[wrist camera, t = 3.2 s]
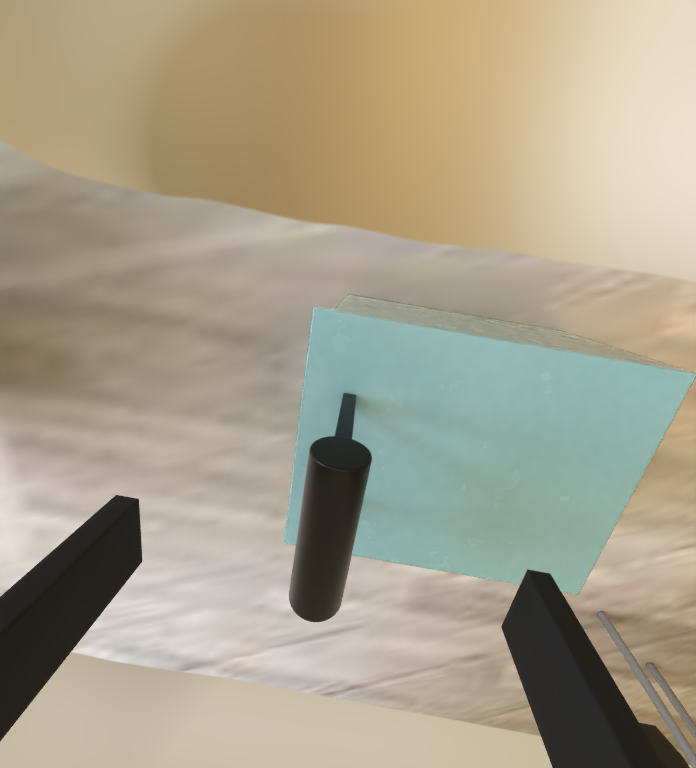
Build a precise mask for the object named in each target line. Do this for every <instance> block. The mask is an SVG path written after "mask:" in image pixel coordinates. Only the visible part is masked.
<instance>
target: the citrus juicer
mask: <svg viewBox="0 0 696 768" xmlns="http://www.w3.org/2000/svg"><path fill="white" fill-rule="evenodd" d="M598 617H599V618H600V620H601V621H602V623H603V625H604V626H605V628H606V629H607V631H608V632H609V634H610V635H611V637H612V639H613V640H614V642H615V643H616V645H617V646H618V648H619V650H620V651H621V653H622V654H623V656H624V657H625V659H626V661H627V662H628V664H629V665H630V667H631V669H632V670H633V672H634V673H635V675H636V677H637V678H638V680H639V681H640V683H641V685H642V686H643V688H644V689H645V691H646V693H647V694H648V696H649V697H650V699H651V701H652V702H653V704H654V705H655V707H656V708H657V710H658V712H659V713H660V715H661V717H662V718H663V720H664V721H665V723H666V725H667V726H668V728H669V730H670V731H671V733H672V734H673V736H674V738H675V739H676V741H677V742H678V744H679V746H680V747H681V749H682V751H683V752H684V754H685V756H686V757H687V759H688V760H689V762H690V764H691V765H692V767H693V768H696V754H695V752H694V751H693V749H692V748H691V746H690V744H689V743H688V741H687V740H686V738H685V736H684V735H683V733H682V732H681V730H680V728H679V727H678V725H677V724H676V722H675V721H674V719H673V717H672V716H671V714H670V713H669V711H668V709H667V708H666V706H665V705H664V703H663V702H662V700H661V698H660V697H659V695H658V694H657V692H656V691H655V689H654V687H653V686H652V684H651V683H650V681H649V680H648V678H647V677H646V675H645V673H644V672H643V670H642V669H641V667H640V666H639V664H638V663H637V661H636V659H635V658H634V656H633V655H632V653H631V652H630V650H629V649H628V647H627V646H626V644H625V643H624V641H623V639H622V638H621V636H620V635H619V633H618V632H617V630H616V629H615V627H614V626H613V624H612V623H611V621H610V620H609V619H608V617H607V616H606V614H605V613H604V612H599V613H598ZM647 668H648V669H649V670H650V672H651V673H652V675H653V676H654V678H655V679H656V681H657V682H658V683H659V685H660V686H661V688H662V689H663V691H664V692H665V694H666V695H667V697H668V698H669V700H670V701H671V703H672V704H673V706H674V707H675V709H676V710H677V712H678V714H679V715H680V717H681V718H682V720H683V721H684V723H685V724H686V726H687V728H688V729H689V731H690V732H691V734H692V735H693V737H694V738H695V740H696V725H695V723H694V722H693V720H692V719H691V717H690V716H689V714H688V713H687V711H686V710H685V708H684V707H683V705H682V704H681V702H680V701H679V700H678V698H677V697H676V695H675V694H674V692H673V691H672V689H671V688H670V686H669V685H668V684H667V682H666V681H665V679H664V678H663V677H662V675H661V674H660V672H659V671H658V670H657V668H656V667H655V666H654V664H652V663H649V664H647Z"/></svg>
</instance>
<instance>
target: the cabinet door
mask: <svg viewBox="0 0 696 768" xmlns="http://www.w3.org/2000/svg"><path fill="white" fill-rule="evenodd" d="M695 378H696V373H694V372H691V371H687V370H684V369H679V368H673V367H667V366H661V365H656V364H650V363H644V362H638V361H632V360H627V359H621V358H615V357H609V356H603V355H598V354H592V353H586V352H580V351H575V350H569V349H563V348H557V347H551V346H546V345H540V344H534V343H528V342H522V341H517V340H511V339H505V338H499V337H493V336H488V335H482V334H476V333H470V332H464V331H459V330H453V329H447V328H441V327H435V326H430V325H424V324H418V323H412V322H406V321H401V320H395V319H389V318H383V317H377V316H372V315H366V314H360V313H354V312H348V311H343V310H337V309H331V308H325V307H320V306H315V307H314V308H313V312H312V320H311V328H310V336H309V344H308V352H307V360H306V368H305V376H304V384H303V392H302V400H301V408H300V416H299V424H298V432H297V440H296V448H295V457H294V465H293V473H292V481H291V489H290V497H289V505H288V513H287V521H286V529H285V537H284V543H286V544H292V545H296V549H295V556H294V563H293V570H292V577H291V584H290V591H289V600H290V604H291V606H292V608H293V610H294V611H295V613H296V614H297V615H298V616H300V617H301V618H303V619H304V620H307V621H310V622H322V621H325V620H328V619H329V618H331V617H332V616H333V615H335V614H336V612H337V611H338V610H339V608H340V606H341V602H342V597H343V593H344V588H345V583H346V579H347V574H348V570H349V565H350V560H351V556H352V555H354V556H360V557H365V558H371V559H377V560H382V561H388V562H394V563H400V564H405V565H411V566H417V567H422V568H428V569H434V570H439V571H445V572H451V573H456V574H462V575H468V576H473V577H479V578H485V579H490V580H496V581H502V582H507V583H513V584H519V585H521V582H522V580H523V578H524V576H525V573H526V571H527V569H528V570H534V571H539V572H545V573H550V574H551V575H552V577H553V579H554V580H555V582H556V584H557V586H558V587H559V589H560V591H561V592H564V593H570V594H575V595H578V594H579V592H580V590H581V588H582V587H583V585H584V583H585V581H586V579H587V577H588V575H589V574H590V572H591V570H592V568H593V566H594V564H595V563H596V561H597V559H598V557H599V555H600V553H601V551H602V550H603V548H604V546H605V544H606V542H607V540H608V538H609V537H610V535H611V533H612V531H613V529H614V527H615V526H616V524H617V522H618V520H619V518H620V516H621V514H622V513H623V511H624V509H625V507H626V505H627V503H628V501H629V500H630V498H631V496H632V494H633V492H634V490H635V489H636V487H637V485H638V483H639V481H640V479H641V477H642V476H643V474H644V472H645V470H646V468H647V466H648V464H649V463H650V461H651V459H652V457H653V455H654V453H655V452H656V450H657V448H658V446H659V444H660V442H661V440H662V439H663V437H664V435H665V433H666V431H667V429H668V427H669V426H670V424H671V422H672V420H673V418H674V416H675V415H676V413H677V411H678V409H679V407H680V405H681V403H682V402H683V400H684V398H685V396H686V394H687V392H688V390H689V389H690V387H691V385H692V383H693V381H694V379H695Z"/></svg>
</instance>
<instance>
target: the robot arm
mask: <svg viewBox="0 0 696 768" xmlns="http://www.w3.org/2000/svg"><path fill="white" fill-rule="evenodd" d="M141 562H142V547H141V530H140V513H139V499H135V498H130V497H124V496H119V495H116V496H115V497H114V498H112V499H111V500H110V501H109V502H108V503H107V504H106V505H104V506H103V507H102V508H101V509H100V510H99V511H98V512H96V513H95V514H94V515H93V516H92V517H91V518H90V519H88V520H87V521H86V522H85V523H84V524H83V525H82V526H81V527H79V528H78V529H77V530H76V531H75V532H74V533H73V534H71V535H70V536H69V537H68V538H67V539H66V540H65V541H63V542H62V543H61V544H60V545H59V546H58V547H57V548H55V549H54V550H53V551H52V552H51V553H50V554H49V555H47V556H46V557H45V558H44V559H43V560H42V561H41V562H39V563H38V564H37V565H36V566H35V567H34V568H33V569H32V570H30V571H29V572H28V573H27V574H26V575H25V576H24V577H22V578H21V579H20V580H19V581H18V582H17V583H16V584H14V585H13V586H12V587H11V588H10V589H9V590H8V591H6V592H5V593H4V594H3V595H2V596H1V597H0V741H1V740H2V738H3V737H4V736H5V735H6V733H7V732H8V731H9V730H10V728H11V727H12V726H13V724H14V723H15V722H16V721H17V719H18V718H19V717H20V715H21V714H22V713H23V712H24V711H25V709H26V708H27V707H28V705H29V704H30V703H31V702H32V700H33V699H34V698H35V697H36V695H37V694H38V693H39V692H40V690H41V689H42V688H43V686H44V685H45V684H46V683H47V681H48V680H49V679H50V677H51V676H52V675H53V674H54V673H55V671H56V670H57V669H58V667H59V666H60V665H61V664H62V662H63V661H64V660H65V659H66V657H67V656H68V655H69V654H70V652H71V651H72V650H73V648H74V647H75V646H76V645H77V643H78V642H79V641H80V640H81V638H82V637H83V636H84V635H85V633H86V632H87V631H88V630H89V628H90V627H91V626H92V624H93V623H94V622H95V621H96V619H97V618H98V617H99V616H100V614H101V613H102V612H103V611H104V609H105V608H106V607H107V605H108V604H109V603H110V602H111V600H112V599H113V598H114V597H115V595H116V594H117V593H118V592H119V590H120V589H121V588H122V586H123V585H124V584H125V583H126V581H127V580H128V579H129V578H130V576H131V575H132V574H133V573H134V571H135V570H136V569H137V567H138V566H139V565H140V564H141ZM502 630H503V633H504V636H505V638H506V641H507V644H508V647H509V649H510V652H511V655H512V658H513V660H514V663H515V666H516V668H517V671H518V674H519V677H520V679H521V682H522V685H523V688H524V690H525V693H526V696H527V699H528V701H529V704H530V707H531V710H532V712H533V715H534V718H535V720H536V723H537V726H538V729H539V731H540V734H541V737H542V740H543V742H544V745H545V748H546V751H547V753H548V756H549V759H550V762H551V764H552V767H553V768H690V767H689V766H688V764H687V763H686V761H685V760H684V758H683V757H682V756H681V754H680V753H679V752H678V751H677V750H676V749H675V748H674V747H673V745H672V744H671V743H670V742H669V741H668V740H667V739H666V737H665V736H664V735H663V734H662V733H661V732H660V731H659V729H658V728H657V727H656V726H654V725H648V724H643V723H639V722H638V721H637V719H636V717H635V716H634V714H633V712H632V711H631V709H630V707H629V705H628V704H627V702H626V700H625V699H624V697H623V695H622V694H621V692H620V690H619V689H618V687H617V685H616V684H615V682H614V680H613V678H612V677H611V675H610V673H609V672H608V670H607V668H606V667H605V665H604V663H603V662H602V660H601V658H600V656H599V655H598V653H597V651H596V650H595V648H594V646H593V645H592V643H591V641H590V640H589V638H588V636H587V635H586V633H585V631H584V629H583V628H582V626H581V624H580V623H579V621H578V619H577V618H576V616H575V614H574V613H573V611H572V609H571V608H570V606H569V604H568V602H567V601H566V599H565V597H564V596H563V594H562V592H561V591H560V589H559V587H558V586H557V584H556V582H555V580H554V579H553V577H552V575H551V574H550V573H545V572H539V571H534V570H528V569H527V571H526V573H525V576H524V578H523V580H522V582H521V585H520V587H519V589H518V591H517V593H516V596H515V598H514V600H513V602H512V604H511V607H510V609H509V611H508V613H507V615H506V618H505V620H504V622H503V624H502Z"/></svg>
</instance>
